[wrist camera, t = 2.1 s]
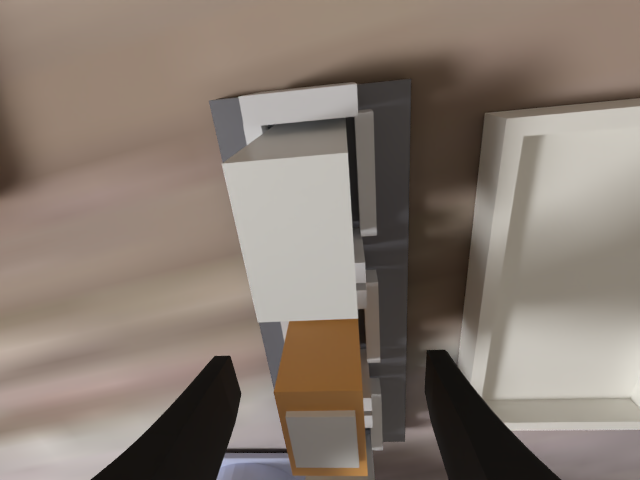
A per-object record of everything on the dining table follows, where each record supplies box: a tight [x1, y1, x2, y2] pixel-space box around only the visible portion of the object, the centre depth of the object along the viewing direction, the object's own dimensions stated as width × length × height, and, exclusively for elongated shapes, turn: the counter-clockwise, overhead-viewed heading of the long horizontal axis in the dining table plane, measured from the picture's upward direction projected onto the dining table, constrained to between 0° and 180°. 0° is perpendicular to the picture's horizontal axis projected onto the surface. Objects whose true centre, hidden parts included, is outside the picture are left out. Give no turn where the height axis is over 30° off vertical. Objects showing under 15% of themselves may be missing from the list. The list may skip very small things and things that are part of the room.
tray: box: [457, 98, 640, 431], centre depth 14 cm, size 15×9×2 cm, turn 6°
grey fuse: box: [222, 118, 358, 322], centre depth 10 cm, size 4×2×6 cm, turn 6°
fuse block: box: [209, 79, 411, 480], centre depth 15 cm, size 19×7×4 cm, turn 6°
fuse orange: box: [274, 319, 368, 476], centre depth 13 cm, size 4×2×6 cm, turn 6°
